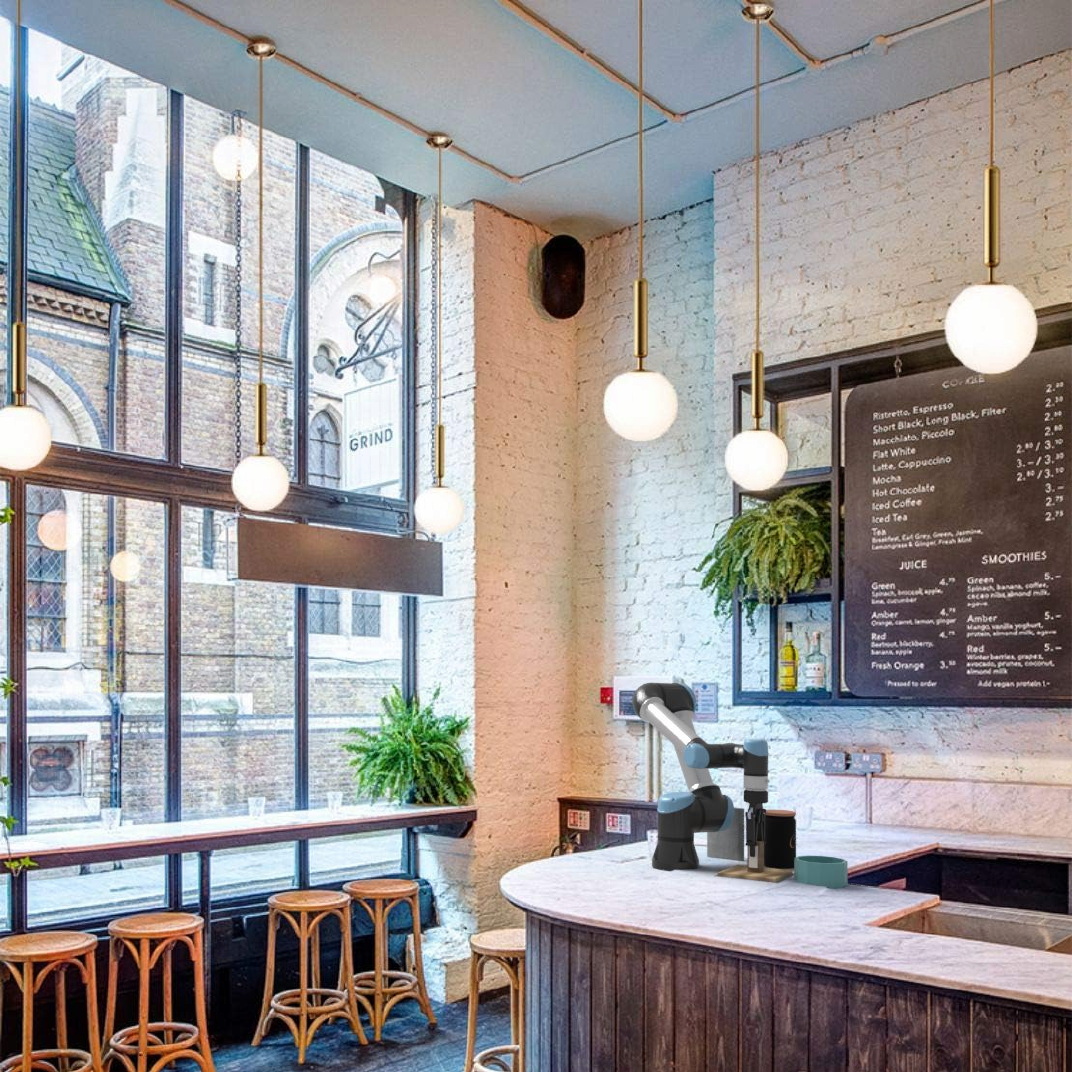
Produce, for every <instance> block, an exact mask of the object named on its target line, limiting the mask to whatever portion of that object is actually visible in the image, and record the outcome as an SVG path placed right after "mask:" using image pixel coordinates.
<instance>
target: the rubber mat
mask: <svg viewBox="0 0 1072 1072" xmlns="http://www.w3.org/2000/svg"><path fill="white" fill-rule="evenodd" d="M714 877H718V878H719V877H720V878H729V879H736V880H745V881H754V882H764V883H772V884H779V883H781V882H783V881H784V880H785V881H786V880H788V879H789V878H792V877H795V874H794V872H793V874H791V875H789V876H787V877H785V878H783V879H781V880H779V881H777V882H769V881H760V880H751V879H742V878H733V877H724V876H718V873H717V874H716V875H714Z"/></svg>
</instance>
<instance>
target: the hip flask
mask: <svg viewBox="0 0 1072 1072" xmlns="http://www.w3.org/2000/svg"><path fill="white" fill-rule="evenodd" d="M706 847H707V848H706V857H707V858H711V859H719V860H728V861H729V860H731V861H738V862H745V808H743V807H736V806H734V817H733V821H732V823H731V825H730V826H729V828H728V829H726V830H724V831H718V832H706Z"/></svg>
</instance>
